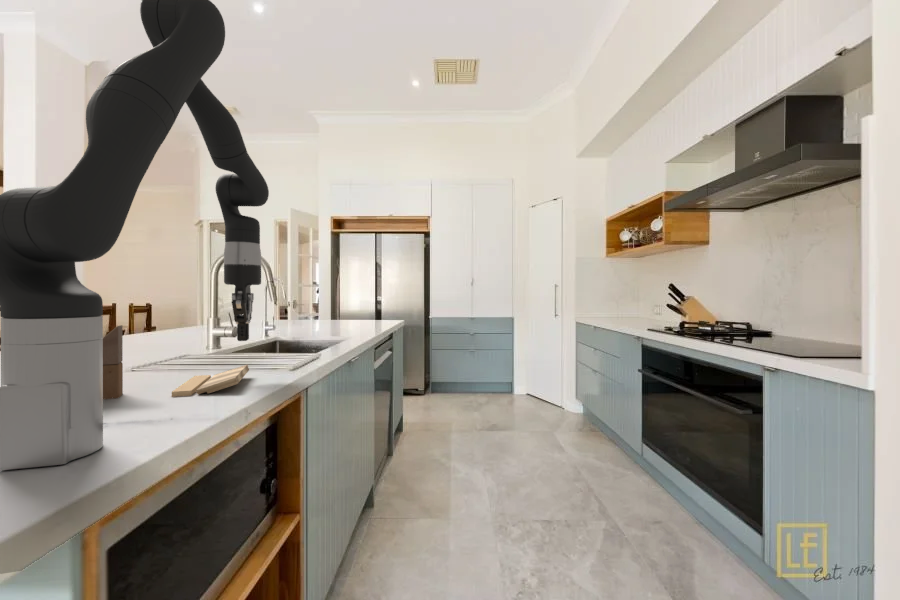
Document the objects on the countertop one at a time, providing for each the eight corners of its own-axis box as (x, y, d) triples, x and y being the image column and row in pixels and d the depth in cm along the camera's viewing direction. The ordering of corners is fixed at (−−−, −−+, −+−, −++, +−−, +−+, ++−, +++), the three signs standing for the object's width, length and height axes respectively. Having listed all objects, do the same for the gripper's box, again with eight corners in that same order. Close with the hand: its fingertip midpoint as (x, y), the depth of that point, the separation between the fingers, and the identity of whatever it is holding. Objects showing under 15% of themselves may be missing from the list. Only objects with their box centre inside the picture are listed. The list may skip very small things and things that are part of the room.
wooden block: (118, 402, 77) (118, 305, 77) (40, 410, 72) (39, 305, 72) (123, 398, 80) (123, 304, 80) (48, 405, 75) (48, 305, 75)
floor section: (239, 397, 81) (239, 388, 81) (170, 401, 78) (170, 392, 78) (251, 380, 97) (251, 372, 97) (195, 383, 94) (195, 375, 94)
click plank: (237, 384, 82) (235, 377, 81) (198, 396, 79) (196, 390, 79) (249, 369, 97) (247, 364, 97) (216, 380, 95) (214, 374, 95)
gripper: (257, 262, 89) (257, 343, 89) (264, 265, 101) (264, 336, 102) (217, 261, 86) (218, 344, 87) (229, 265, 99) (230, 337, 99)
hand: (243, 340), depth 94 cm, fingers closed
